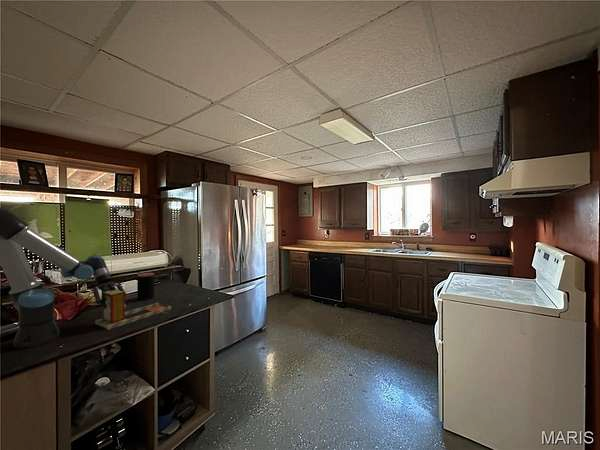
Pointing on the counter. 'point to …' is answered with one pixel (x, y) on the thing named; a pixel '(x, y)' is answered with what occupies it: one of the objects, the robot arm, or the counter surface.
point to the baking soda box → (114, 306)
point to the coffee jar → (145, 286)
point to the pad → (104, 324)
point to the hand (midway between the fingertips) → (117, 310)
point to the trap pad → (155, 308)
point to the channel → (136, 316)
